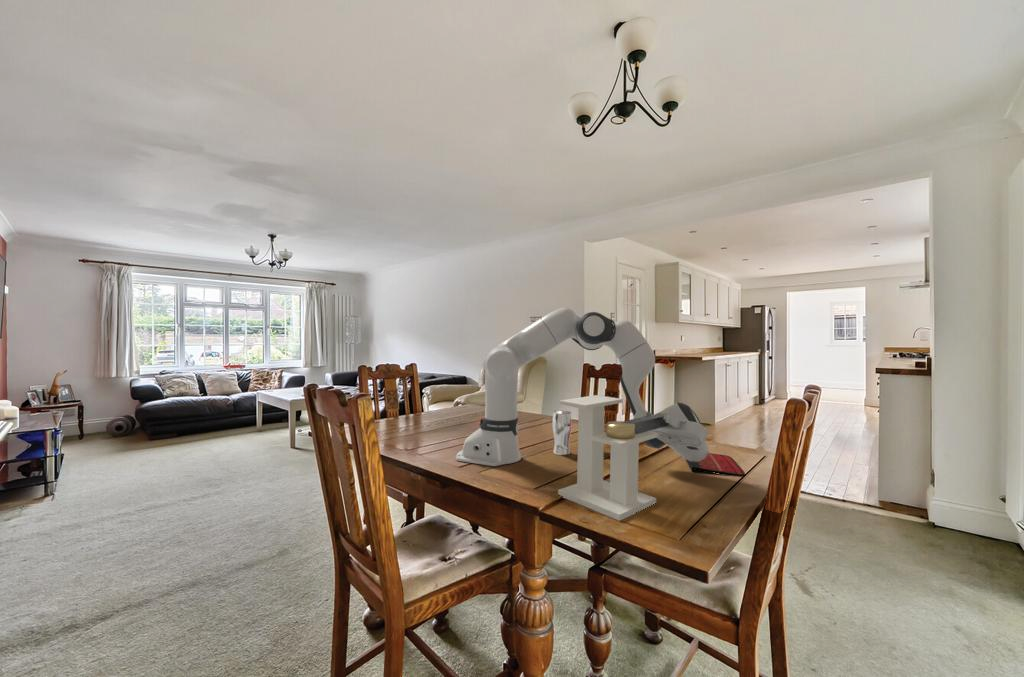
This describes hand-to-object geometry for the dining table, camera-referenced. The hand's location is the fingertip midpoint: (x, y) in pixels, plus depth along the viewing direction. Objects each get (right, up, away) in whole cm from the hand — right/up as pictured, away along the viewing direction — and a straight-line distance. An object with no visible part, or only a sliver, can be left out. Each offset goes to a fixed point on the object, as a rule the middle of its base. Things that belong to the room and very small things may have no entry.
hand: (655, 415), depth 121 cm
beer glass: (-22, -21, +38) cm, 48 cm away
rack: (-15, -22, -4) cm, 27 cm away
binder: (+28, -22, +27) cm, 45 cm away
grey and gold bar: (-6, -3, -5) cm, 8 cm away
